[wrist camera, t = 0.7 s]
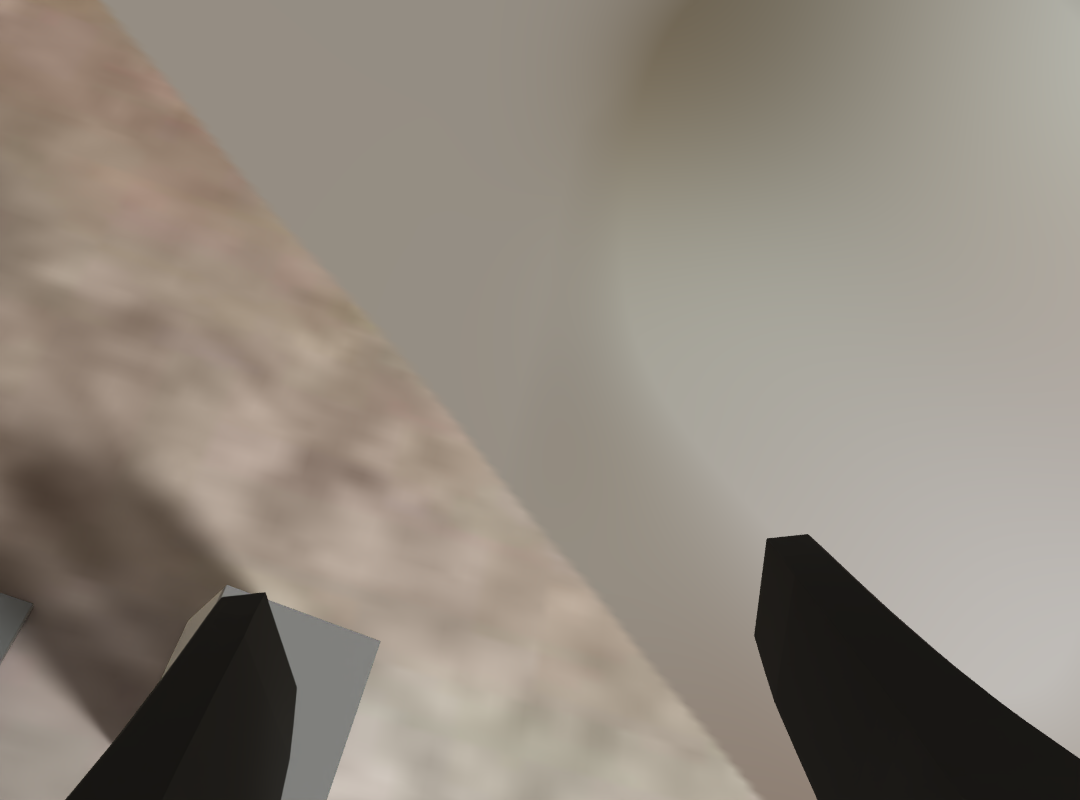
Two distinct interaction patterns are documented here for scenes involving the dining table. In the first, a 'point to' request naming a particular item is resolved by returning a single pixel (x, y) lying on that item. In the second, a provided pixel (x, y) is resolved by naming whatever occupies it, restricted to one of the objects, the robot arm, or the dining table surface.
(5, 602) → the socket base
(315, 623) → the plug
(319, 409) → the dining table surface
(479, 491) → the dining table surface
